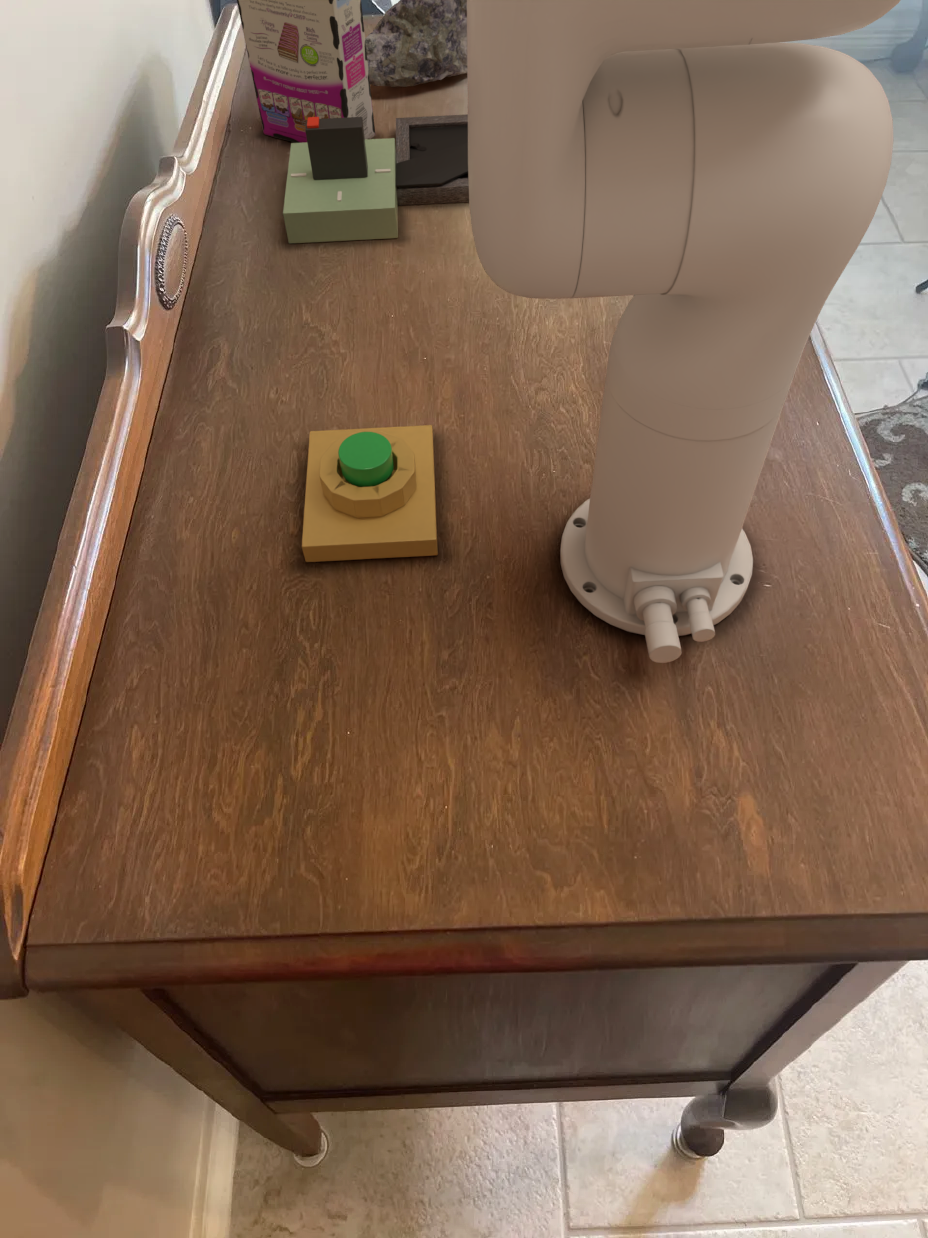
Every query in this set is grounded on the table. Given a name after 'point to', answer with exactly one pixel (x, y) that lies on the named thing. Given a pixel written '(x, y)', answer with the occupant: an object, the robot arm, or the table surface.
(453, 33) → the mineral rock
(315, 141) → the dimmer knob
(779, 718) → the table surface
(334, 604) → the table surface
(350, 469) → the button
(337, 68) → the candy bar box
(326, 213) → the dimmer panel
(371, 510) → the switch block
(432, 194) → the picture frame
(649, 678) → the table surface
